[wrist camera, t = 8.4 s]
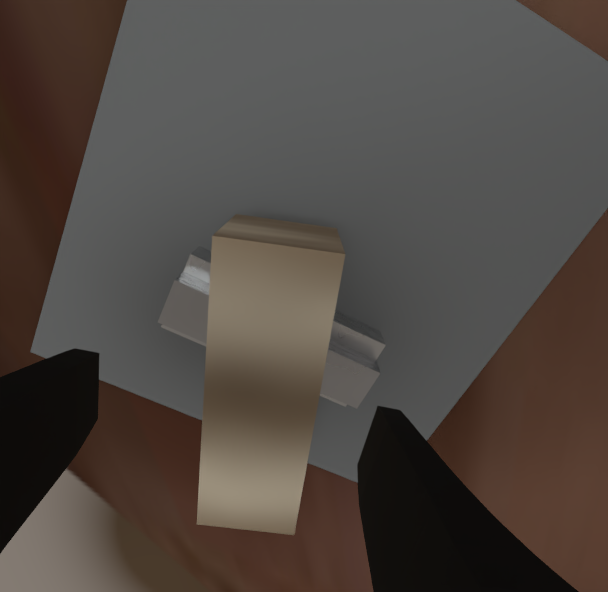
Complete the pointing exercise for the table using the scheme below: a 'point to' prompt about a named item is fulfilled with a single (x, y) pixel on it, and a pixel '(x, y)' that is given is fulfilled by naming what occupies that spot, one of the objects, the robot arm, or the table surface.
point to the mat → (335, 183)
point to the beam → (264, 368)
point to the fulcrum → (342, 346)
